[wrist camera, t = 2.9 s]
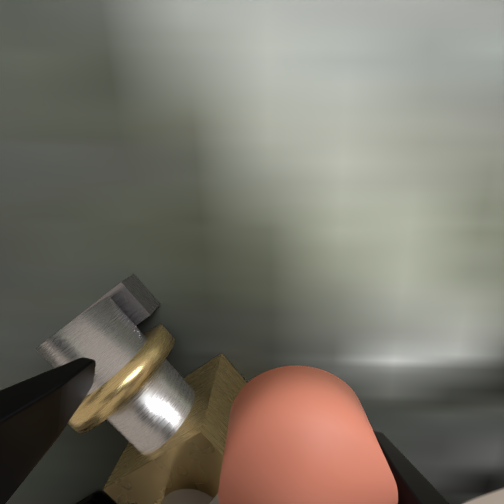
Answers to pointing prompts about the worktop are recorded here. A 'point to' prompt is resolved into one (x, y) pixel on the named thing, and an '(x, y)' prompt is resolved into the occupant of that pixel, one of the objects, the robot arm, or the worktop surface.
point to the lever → (298, 445)
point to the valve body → (148, 398)
